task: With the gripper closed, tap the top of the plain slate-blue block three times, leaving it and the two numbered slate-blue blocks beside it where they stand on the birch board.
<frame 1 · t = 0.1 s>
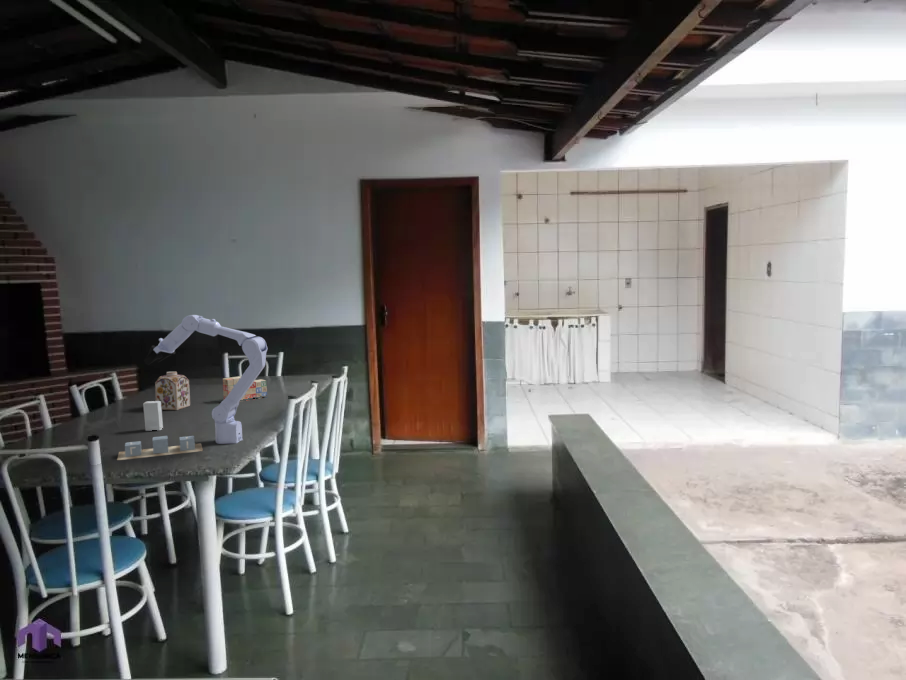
hand: (151, 361, 251), 32 cm above the table, tool tilted 50°, fingers open, 7 cm apart
block with a 7: (133, 454, 235), point 1 cm above the table, touching birch board
stack of blocks: (245, 400, 344), on the table
block with a 1: (187, 448, 243), point 1 cm above the table, touching birch board
plain block: (160, 451, 239), point 1 cm above the table, touching birch board
skincare box: (154, 430, 277), on the table
birch board: (161, 454, 239), on the table
decorative jar: (173, 408, 323), on the table
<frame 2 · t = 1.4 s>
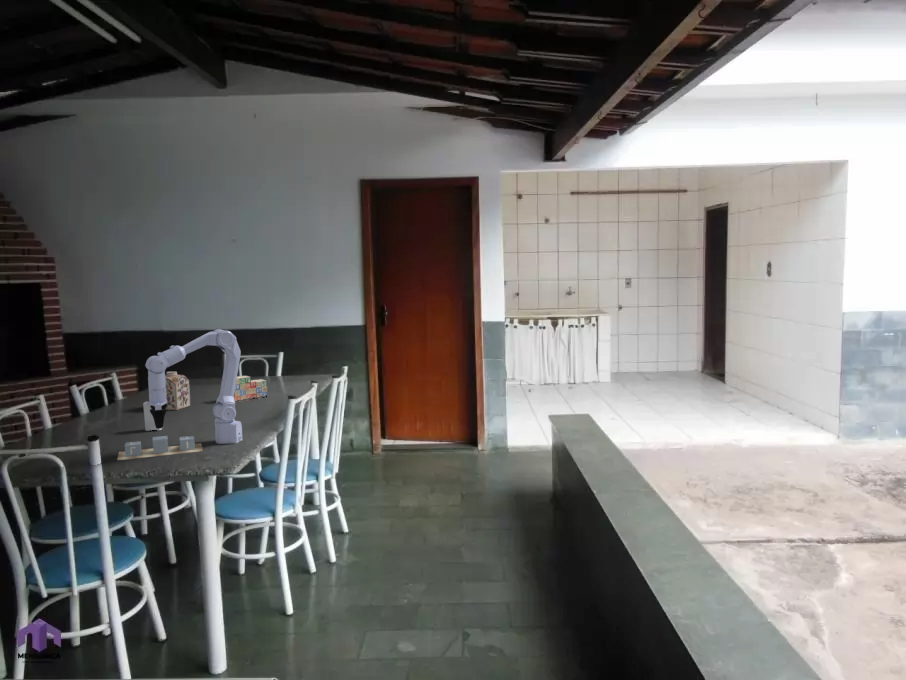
hand: (159, 426, 238), 10 cm above the table, tool pointing down, fingers open, 7 cm apart
nothing on the table moved.
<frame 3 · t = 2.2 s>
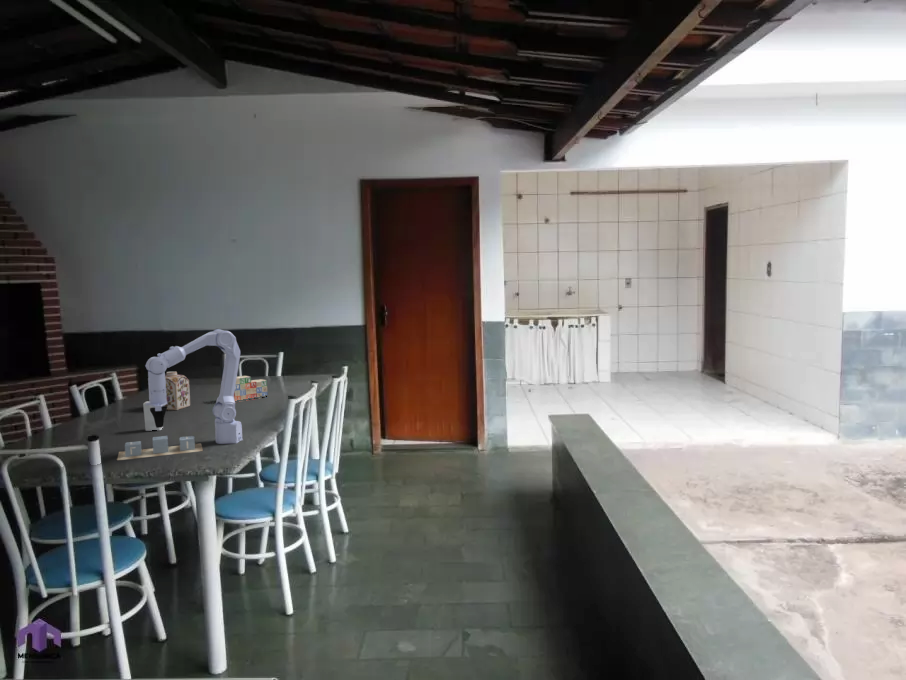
hand: (159, 427, 238), 10 cm above the table, tool pointing down, fingers closed
nothing on the table moved.
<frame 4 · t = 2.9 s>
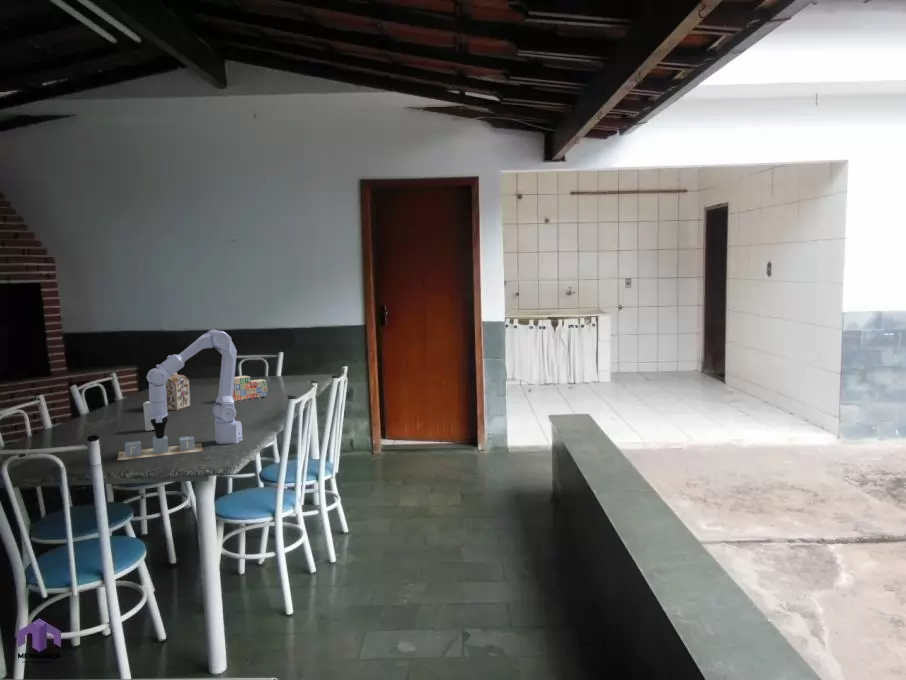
hand: (160, 438, 238), 6 cm above the table, tool pointing down, fingers closed, pressing on plain block
plain block: (160, 451, 239), point 1 cm above the table, touching birch board, gripper
everything else where it was.
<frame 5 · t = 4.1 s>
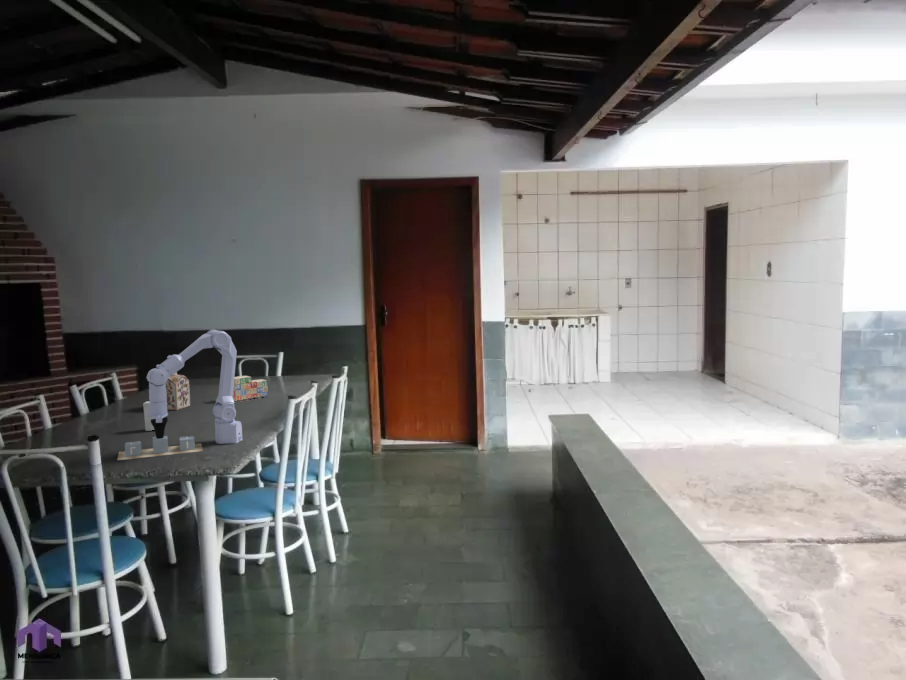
hand: (160, 438, 238), 6 cm above the table, tool pointing down, fingers closed, pressing on plain block
plain block: (160, 451, 239), point 1 cm above the table, touching birch board, gripper
everything else where it was.
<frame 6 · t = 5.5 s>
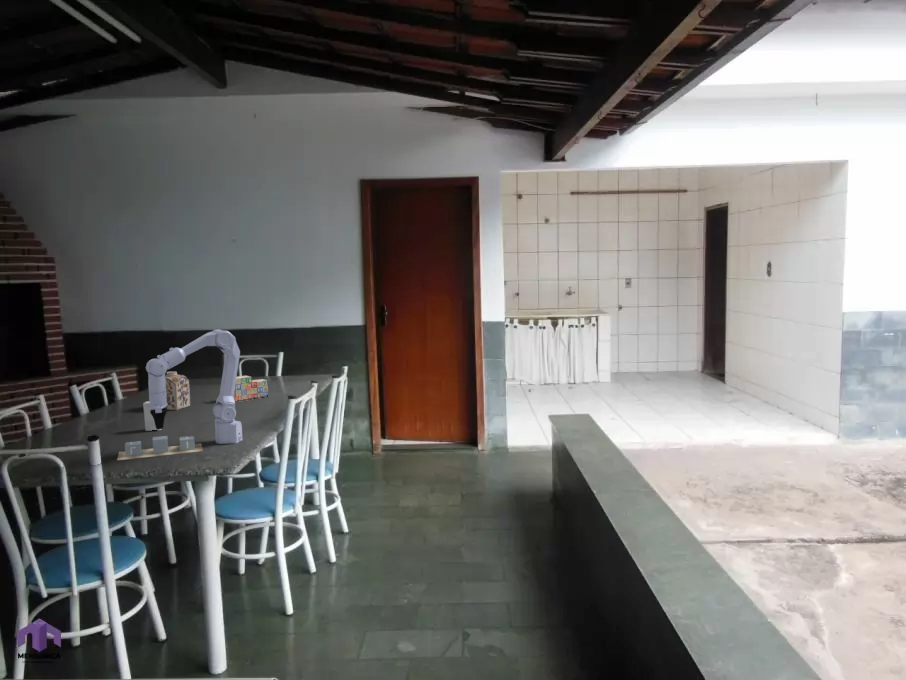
hand: (159, 428, 238), 9 cm above the table, tool pointing down, fingers closed
plain block: (160, 451, 239), point 1 cm above the table, touching birch board
everything else where it was.
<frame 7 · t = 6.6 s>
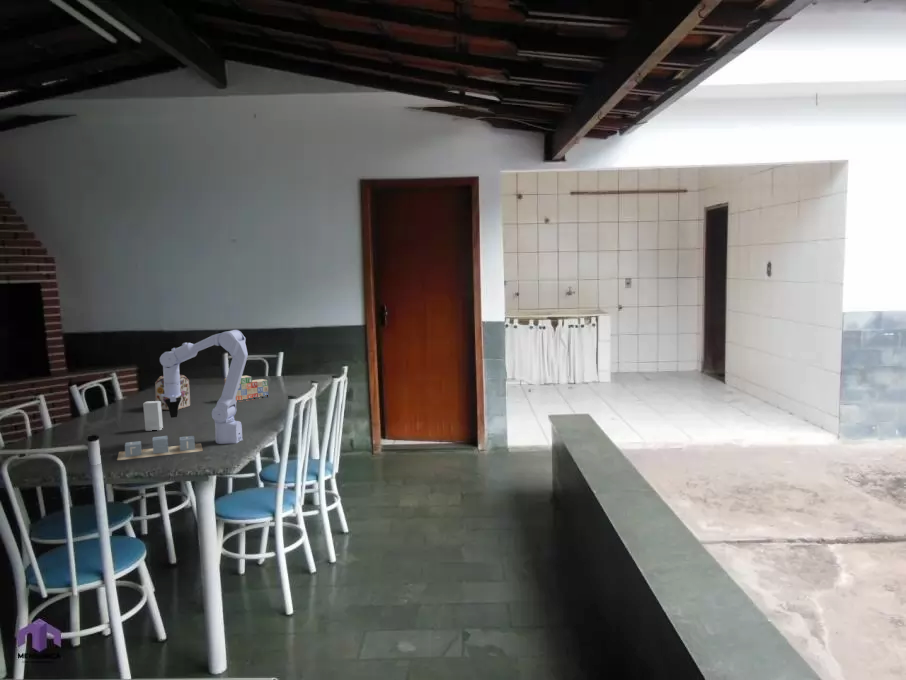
hand: (173, 417, 253), 10 cm above the table, tool pointing down, fingers closed
nothing on the table moved.
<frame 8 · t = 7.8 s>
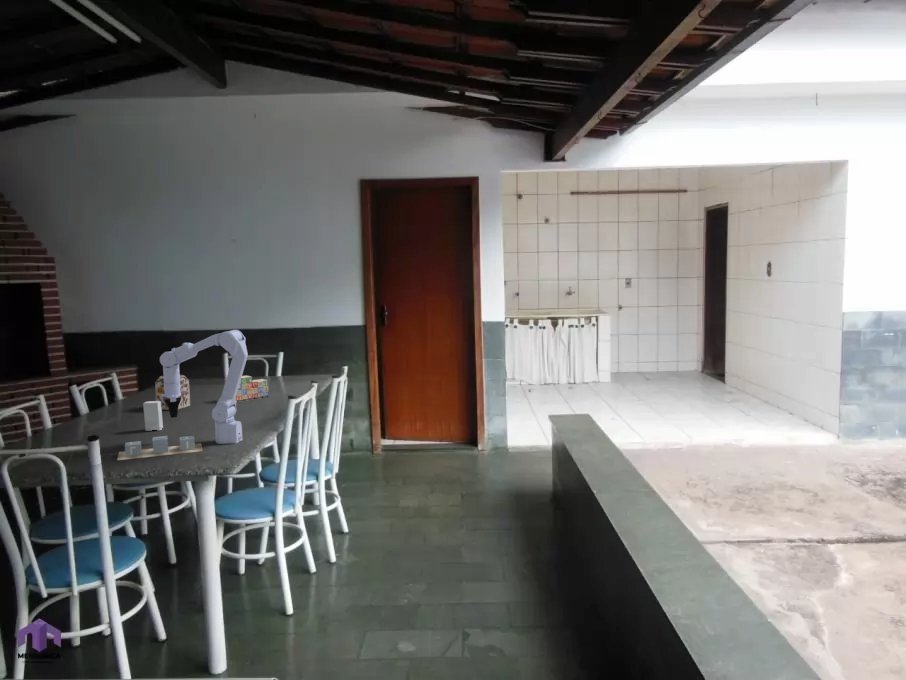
hand: (173, 417, 253), 10 cm above the table, tool pointing down, fingers closed
at the end: plain block moved 0.0 cm from its start; block with a 1 moved 0.0 cm from its start; block with a 7 moved 0.0 cm from its start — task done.
